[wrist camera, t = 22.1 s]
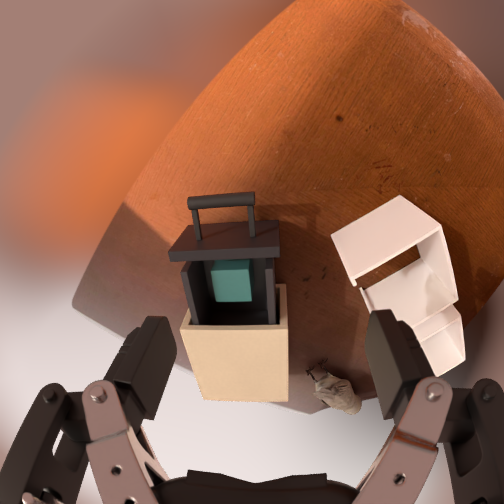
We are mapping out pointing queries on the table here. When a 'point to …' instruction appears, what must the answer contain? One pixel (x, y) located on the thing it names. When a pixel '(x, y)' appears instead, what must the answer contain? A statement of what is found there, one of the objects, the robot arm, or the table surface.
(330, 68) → the table surface
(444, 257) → the white desk organizer
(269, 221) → the drawer
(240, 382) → the beige hollow box
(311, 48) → the table surface
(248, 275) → the block
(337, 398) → the decorative bird
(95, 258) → the table surface
